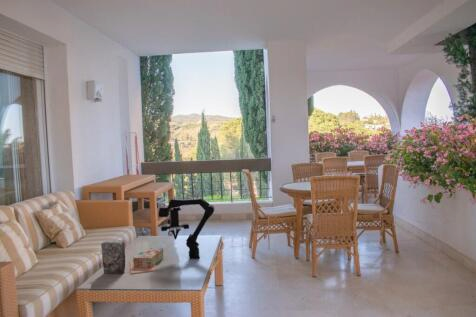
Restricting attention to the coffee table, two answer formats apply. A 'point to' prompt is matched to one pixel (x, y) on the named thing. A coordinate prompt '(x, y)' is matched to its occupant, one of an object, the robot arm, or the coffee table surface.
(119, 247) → the stone block
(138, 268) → the mat
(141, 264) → the stack of blocks
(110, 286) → the coffee table surface
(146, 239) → the coffee table surface
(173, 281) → the coffee table surface
